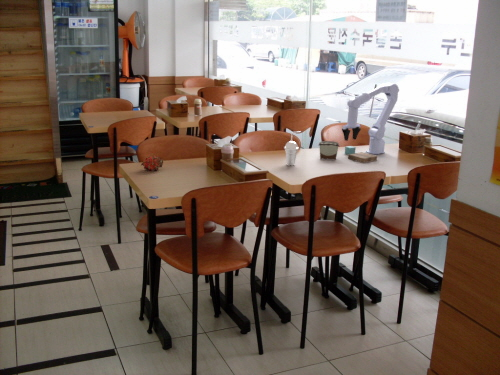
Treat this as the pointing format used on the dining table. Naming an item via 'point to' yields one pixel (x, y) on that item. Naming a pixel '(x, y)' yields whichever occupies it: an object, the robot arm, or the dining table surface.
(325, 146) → the food container
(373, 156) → the walnut block
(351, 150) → the teal cube
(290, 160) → the cup with straw
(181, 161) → the dining table surface
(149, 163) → the dragon fruit
